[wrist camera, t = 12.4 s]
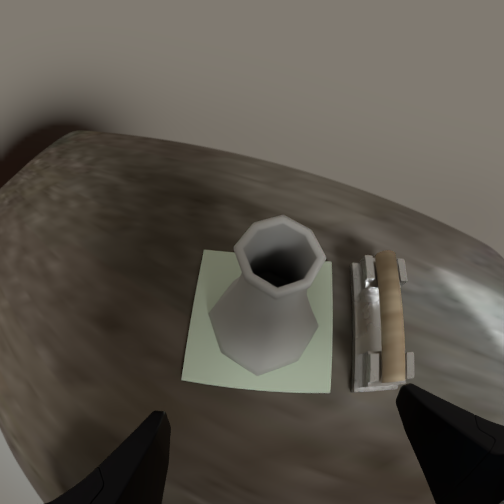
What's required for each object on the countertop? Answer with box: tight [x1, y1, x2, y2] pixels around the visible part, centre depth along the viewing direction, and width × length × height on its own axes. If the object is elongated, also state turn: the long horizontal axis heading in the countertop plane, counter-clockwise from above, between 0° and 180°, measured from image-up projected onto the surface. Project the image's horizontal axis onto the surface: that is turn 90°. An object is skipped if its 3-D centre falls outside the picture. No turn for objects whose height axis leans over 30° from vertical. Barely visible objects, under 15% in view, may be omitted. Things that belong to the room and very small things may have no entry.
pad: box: [181, 250, 333, 393], centre depth 19 cm, size 10×10×1 cm
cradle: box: [350, 255, 414, 392], centre depth 17 cm, size 10×4×3 cm, turn 174°
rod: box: [375, 250, 405, 383], centre depth 16 cm, size 9×2×2 cm, turn 174°
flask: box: [208, 215, 326, 376], centre depth 14 cm, size 7×7×10 cm
